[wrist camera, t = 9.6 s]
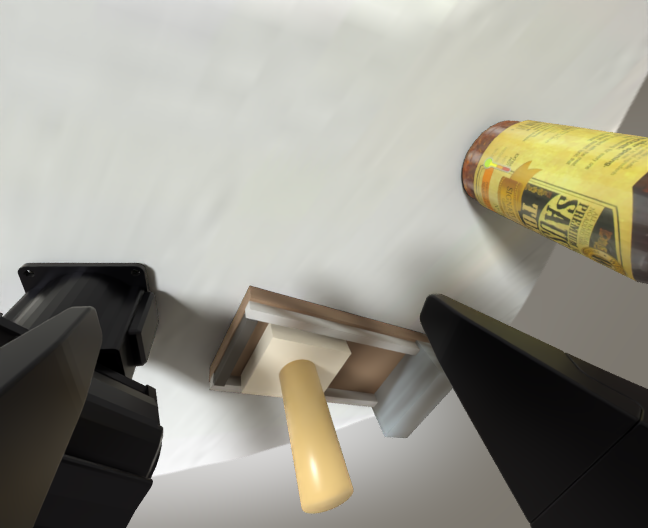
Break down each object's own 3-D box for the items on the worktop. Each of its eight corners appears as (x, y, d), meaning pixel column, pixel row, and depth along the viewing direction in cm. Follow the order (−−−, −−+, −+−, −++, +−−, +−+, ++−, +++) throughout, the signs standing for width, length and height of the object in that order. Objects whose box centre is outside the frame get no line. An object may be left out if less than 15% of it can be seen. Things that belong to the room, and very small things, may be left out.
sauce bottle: (441, 169, 22) (1051, 415, 6) (507, 97, 21) (1584, 146, 4) (481, 217, 25) (938, 458, 9) (540, 157, 24) (1216, 316, 8)
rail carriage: (240, 374, 25) (247, 532, 16) (270, 321, 23) (295, 468, 14) (312, 384, 28) (351, 521, 19) (344, 337, 26) (403, 467, 17)
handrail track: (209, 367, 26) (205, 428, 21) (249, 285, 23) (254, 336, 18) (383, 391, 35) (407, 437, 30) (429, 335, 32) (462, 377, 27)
